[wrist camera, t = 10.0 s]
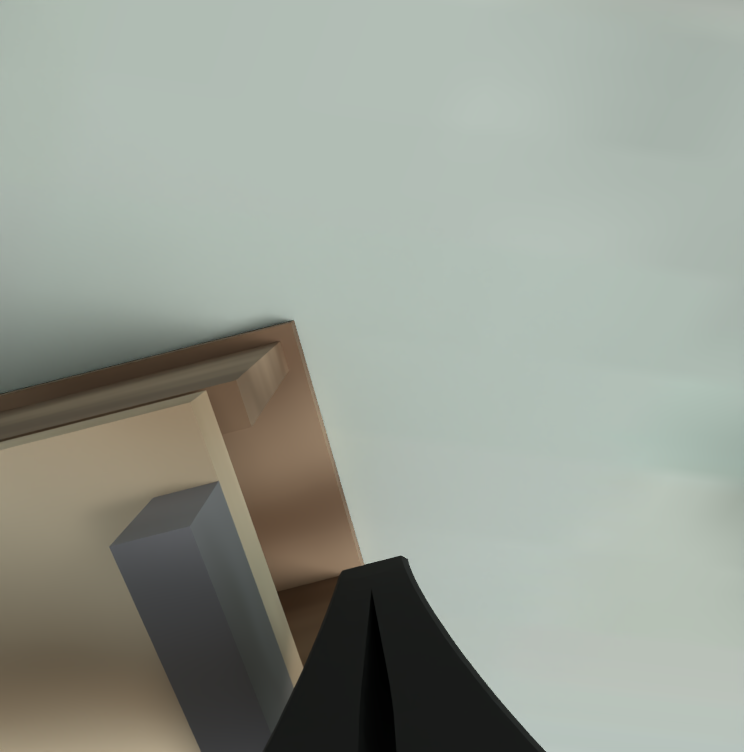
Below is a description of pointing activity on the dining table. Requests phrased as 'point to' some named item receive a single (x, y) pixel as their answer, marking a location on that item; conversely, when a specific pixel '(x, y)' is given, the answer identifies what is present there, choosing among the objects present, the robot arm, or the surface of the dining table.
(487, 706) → the robot arm
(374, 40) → the dining table surface
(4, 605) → the lid
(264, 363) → the brown wooden box
